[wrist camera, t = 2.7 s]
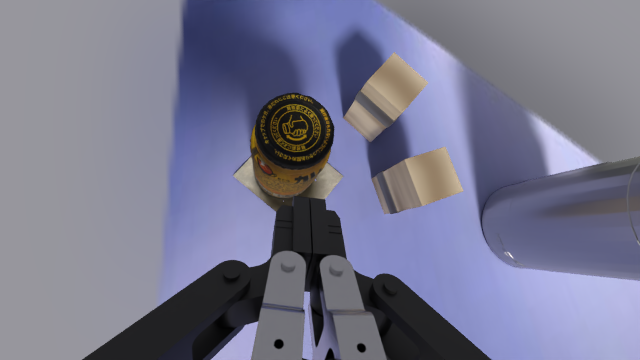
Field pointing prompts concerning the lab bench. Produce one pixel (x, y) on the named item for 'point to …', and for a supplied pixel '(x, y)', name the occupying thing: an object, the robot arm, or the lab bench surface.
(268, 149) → the condiment
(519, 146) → the lab bench surface
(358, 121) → the banded post
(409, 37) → the lab bench surface
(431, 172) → the banded post
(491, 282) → the lab bench surface
